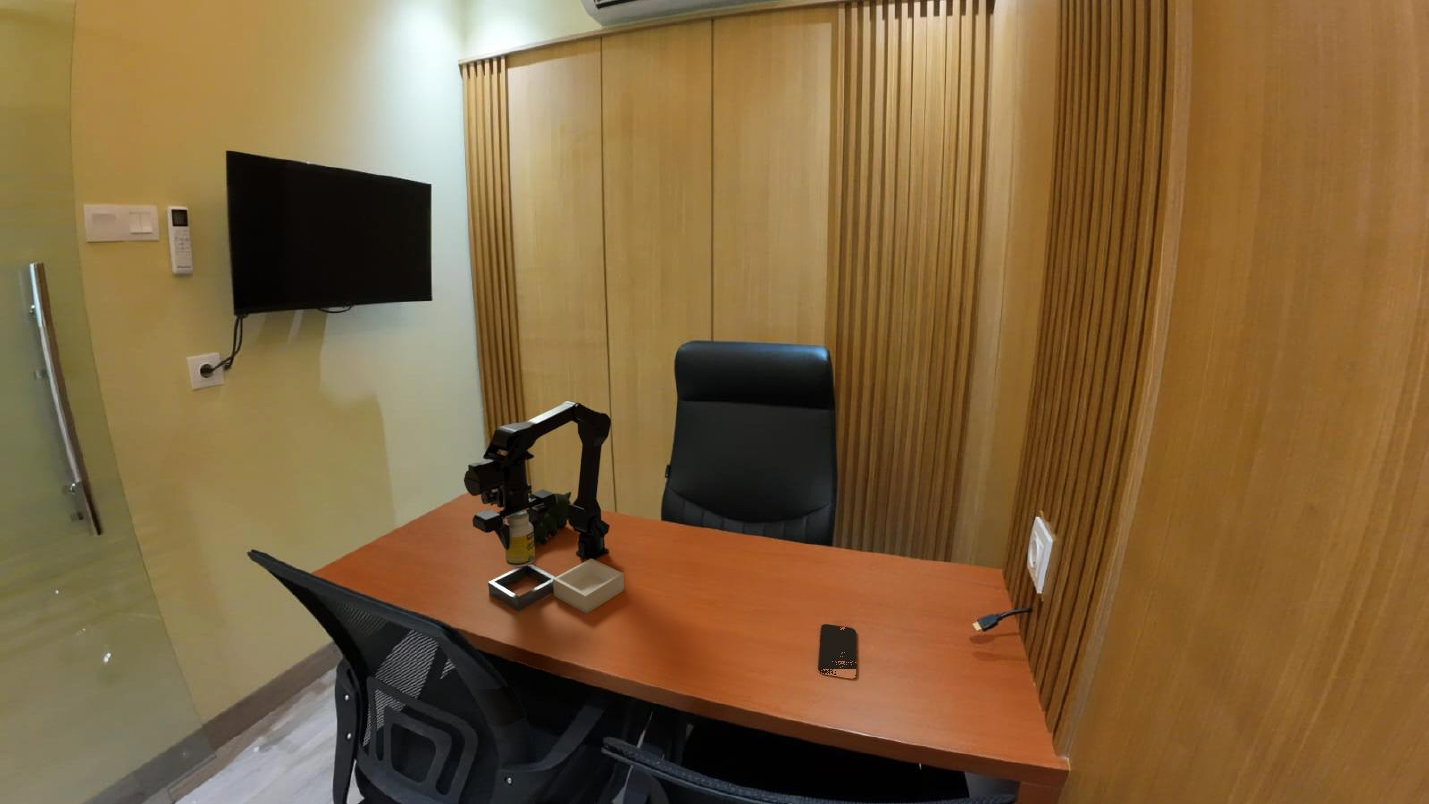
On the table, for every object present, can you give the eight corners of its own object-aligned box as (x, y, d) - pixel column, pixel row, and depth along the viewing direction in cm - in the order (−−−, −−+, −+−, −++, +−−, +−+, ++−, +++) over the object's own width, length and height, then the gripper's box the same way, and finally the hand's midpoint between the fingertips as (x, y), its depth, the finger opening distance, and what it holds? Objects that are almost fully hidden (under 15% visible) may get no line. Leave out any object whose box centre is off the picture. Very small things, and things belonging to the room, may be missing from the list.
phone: (817, 672, 103) (821, 623, 117) (817, 675, 103) (820, 626, 117) (857, 678, 101) (856, 628, 115) (857, 682, 101) (855, 631, 115)
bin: (592, 574, 136) (591, 558, 135) (624, 590, 129) (623, 573, 128) (554, 595, 127) (552, 578, 126) (586, 614, 120) (585, 596, 119)
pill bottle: (526, 569, 123) (523, 523, 120) (500, 566, 124) (497, 520, 122) (540, 556, 129) (537, 511, 127) (516, 553, 130) (513, 508, 128)
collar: (529, 573, 136) (528, 562, 136) (558, 589, 129) (558, 578, 129) (489, 593, 128) (487, 582, 127) (518, 611, 121) (517, 600, 120)
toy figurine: (532, 564, 144) (586, 518, 166) (522, 502, 138) (579, 462, 160) (504, 557, 147) (561, 513, 169) (493, 496, 141) (554, 458, 163)
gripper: (528, 462, 134) (533, 519, 138) (455, 485, 119) (463, 548, 123) (556, 472, 127) (560, 532, 131) (483, 497, 113) (490, 564, 117)
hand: (519, 543), depth 126 cm, fingers closed on pill bottle, 6 cm apart
